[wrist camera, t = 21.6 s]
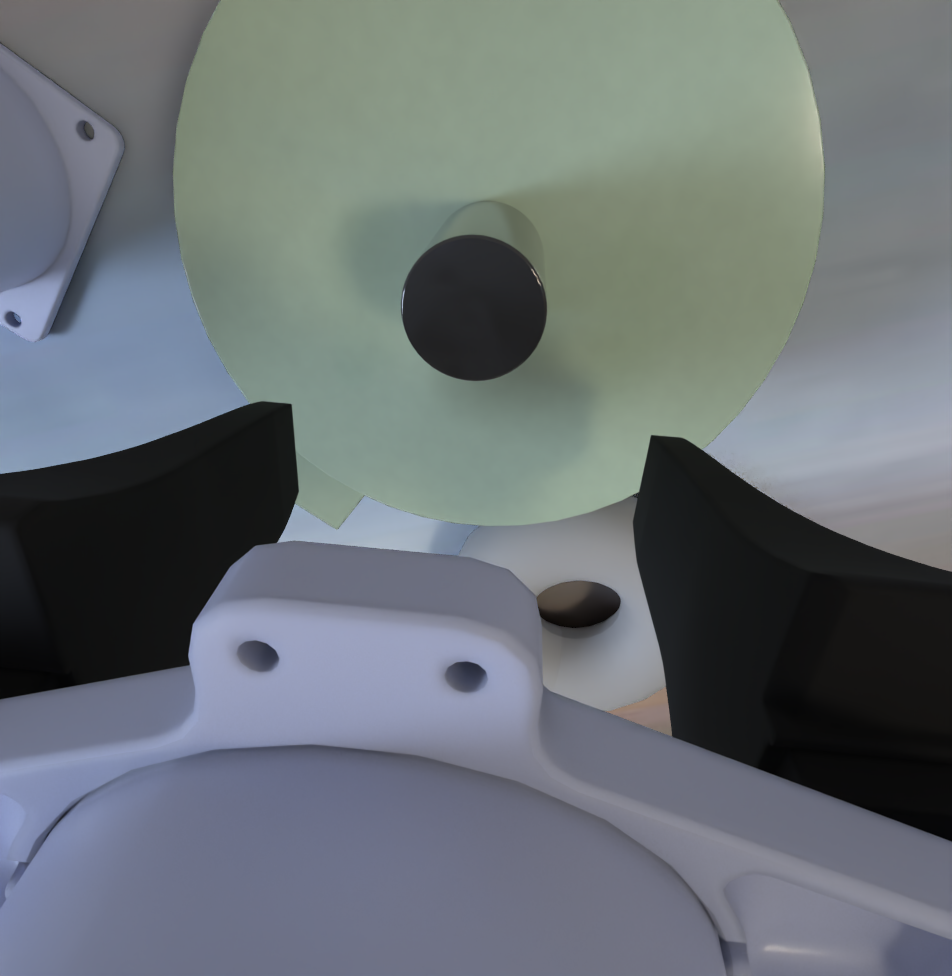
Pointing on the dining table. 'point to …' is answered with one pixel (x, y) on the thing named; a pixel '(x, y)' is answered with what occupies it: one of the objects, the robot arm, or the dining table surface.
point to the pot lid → (498, 233)
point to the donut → (596, 558)
